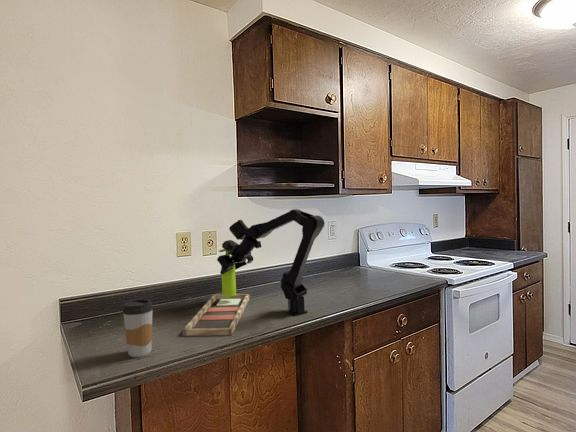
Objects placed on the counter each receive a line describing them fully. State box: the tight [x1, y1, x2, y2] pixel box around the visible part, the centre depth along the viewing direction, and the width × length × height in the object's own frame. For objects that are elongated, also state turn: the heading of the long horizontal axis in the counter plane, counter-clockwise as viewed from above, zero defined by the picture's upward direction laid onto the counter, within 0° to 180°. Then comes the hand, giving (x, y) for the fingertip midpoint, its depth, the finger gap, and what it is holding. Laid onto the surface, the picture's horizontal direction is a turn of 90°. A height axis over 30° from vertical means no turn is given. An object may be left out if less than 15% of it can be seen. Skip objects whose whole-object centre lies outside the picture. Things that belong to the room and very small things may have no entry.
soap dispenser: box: [218, 248, 237, 297], centre depth 154 cm, size 6×7×20 cm
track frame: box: [182, 293, 251, 337], centre depth 140 cm, size 44×16×2 cm, turn 179°
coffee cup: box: [121, 298, 154, 358], centre depth 105 cm, size 8×8×15 cm
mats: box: [199, 306, 240, 321], centre depth 140 cm, size 15×13×1 cm
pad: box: [216, 299, 242, 307], centre depth 156 cm, size 9×9×1 cm
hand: (225, 272), depth 156 cm, fingers closed on soap dispenser, 6 cm apart
